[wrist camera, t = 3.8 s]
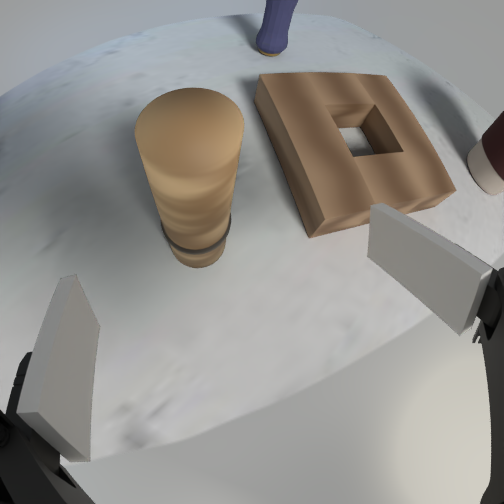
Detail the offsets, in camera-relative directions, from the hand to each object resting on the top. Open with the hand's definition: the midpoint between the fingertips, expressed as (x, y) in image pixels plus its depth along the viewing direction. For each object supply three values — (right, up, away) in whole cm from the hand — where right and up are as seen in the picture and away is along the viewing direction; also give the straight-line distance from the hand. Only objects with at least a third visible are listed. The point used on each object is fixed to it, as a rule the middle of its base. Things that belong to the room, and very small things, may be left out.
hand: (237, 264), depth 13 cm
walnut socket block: (+11, +11, +17) cm, 23 cm away
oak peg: (-4, +1, +12) cm, 13 cm away
